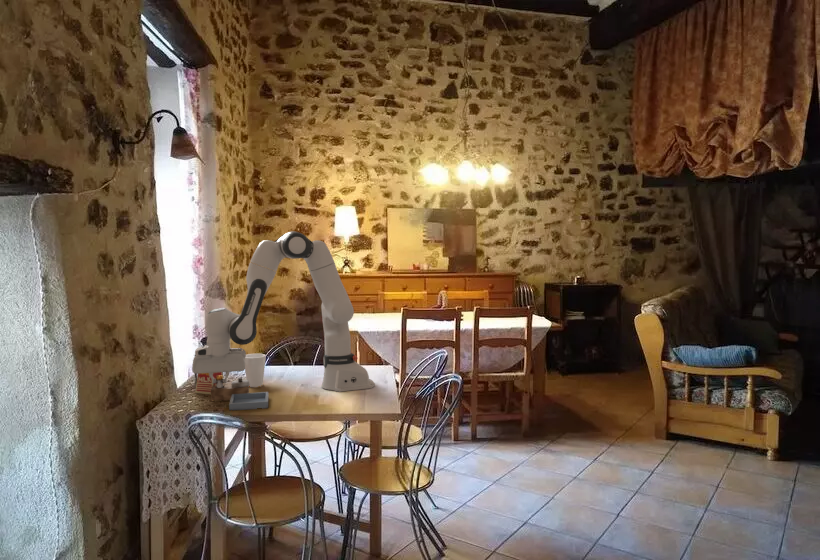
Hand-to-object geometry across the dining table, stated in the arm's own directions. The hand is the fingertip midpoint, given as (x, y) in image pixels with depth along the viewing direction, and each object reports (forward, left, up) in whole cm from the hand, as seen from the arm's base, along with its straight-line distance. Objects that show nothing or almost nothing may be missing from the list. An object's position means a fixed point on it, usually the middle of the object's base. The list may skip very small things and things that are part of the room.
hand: (219, 383), depth 240 cm
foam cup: (-13, -17, -6) cm, 22 cm away
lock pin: (0, 0, -6) cm, 6 cm away
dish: (-12, +11, -6) cm, 18 cm away
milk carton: (+5, -12, -6) cm, 14 cm away
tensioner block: (-4, 0, -6) cm, 7 cm away
